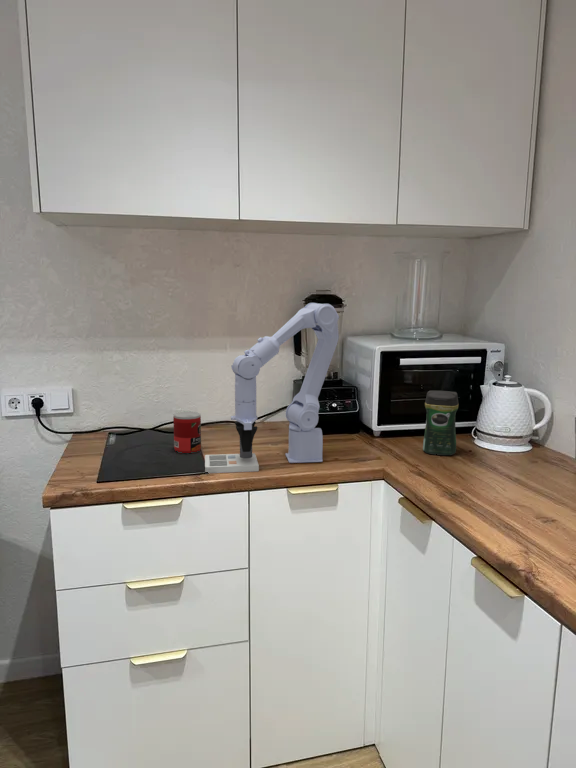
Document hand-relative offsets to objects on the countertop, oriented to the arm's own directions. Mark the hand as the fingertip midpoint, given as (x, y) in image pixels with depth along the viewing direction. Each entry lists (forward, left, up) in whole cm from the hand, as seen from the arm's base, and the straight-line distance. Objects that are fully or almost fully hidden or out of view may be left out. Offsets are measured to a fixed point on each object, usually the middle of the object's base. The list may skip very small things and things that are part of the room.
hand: (246, 449), depth 155 cm
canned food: (+16, -16, -5) cm, 23 cm away
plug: (0, 0, -2) cm, 2 cm away
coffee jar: (-58, -6, -5) cm, 58 cm away
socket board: (+4, 0, -5) cm, 6 cm away
